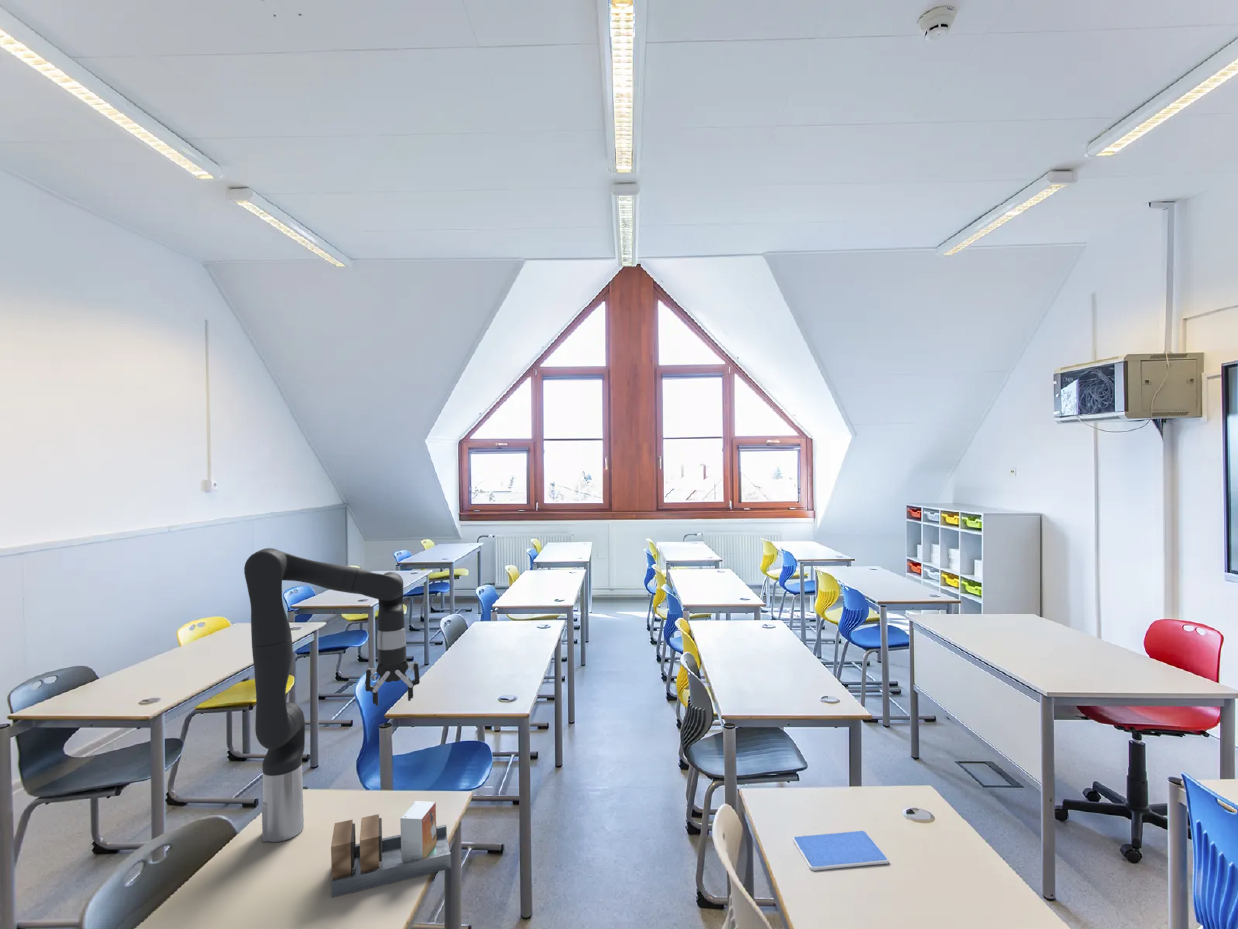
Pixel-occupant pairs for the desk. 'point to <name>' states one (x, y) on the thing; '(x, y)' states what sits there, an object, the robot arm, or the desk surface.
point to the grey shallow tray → (394, 865)
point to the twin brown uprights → (346, 846)
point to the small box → (418, 831)
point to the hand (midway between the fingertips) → (393, 702)
